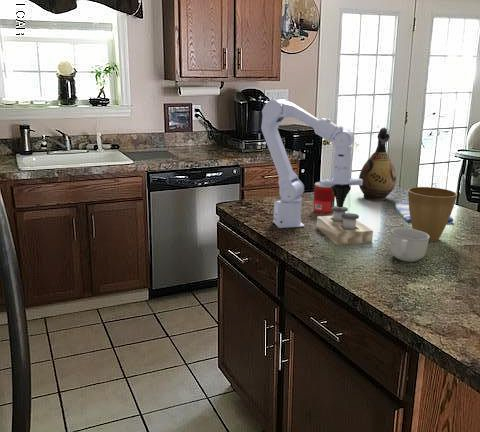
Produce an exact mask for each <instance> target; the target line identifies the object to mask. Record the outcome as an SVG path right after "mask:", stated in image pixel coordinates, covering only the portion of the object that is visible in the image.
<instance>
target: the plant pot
mask: <svg viewBox="0 0 480 432" xmlns="http://www.w3.org/2000/svg"><path fill="white" fill-rule="evenodd" d="M407 193H408V194H407V196H408V198H407V200H408V202H409V212H410V219H411V223H410V224H411V227H412V228H411V229H415V230H419V231H422V232H425V233H427V234H428V235H429V236H430V238H429V241H428V243H434V242H438V241H439V240H440V237H441V236H442V234H443V232H444V230H445V228H446V226H447V225H448V224H447V222H448V220H449V217H450V216H451V215H452V212H453V209H454V206H455V204H456V199H457V197H458V193H457V192H456V191H452V190H450V189H445V188H440V187H432V186H431V187H430V186H416V187H409V188H408V189H407Z"/></svg>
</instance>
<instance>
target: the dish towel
mask: <svg viewBox="0 0 480 432" xmlns="http://www.w3.org/2000/svg"><path fill="white" fill-rule="evenodd" d="M394 204H395V205H394V208H395V210H396V211H397V213H398V214H400V215H401V217H402V218H403V219H404V220H405V222H407V223H409V222H410V224H411V219H410V212H409V201H400V202H395V203H394ZM453 222H454V218H453V217H452V216H451V215H450V217H449V220H448V222H447V224H446V225H453Z"/></svg>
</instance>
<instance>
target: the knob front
mask: <svg viewBox="0 0 480 432" xmlns="http://www.w3.org/2000/svg"><path fill="white" fill-rule="evenodd" d="M341 217H342V218H344V219H343V229H344V230H352V229H355V228H356V220H358V219H359V218H360V216H359V214H357V213H353V212H345V213H344V214H341Z"/></svg>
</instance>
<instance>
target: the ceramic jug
mask: <svg viewBox="0 0 480 432" xmlns="http://www.w3.org/2000/svg"><path fill="white" fill-rule="evenodd" d="M377 139H378V141H377V147H376V149H375V151H374V152H372V154H371V155H370V157H369V158H368V159H367V161H366V162H365V163H364V164H363V166H362V168H361V170H360V171H359V175H358V179H362V180H363V183H362V185H358V186H359V189H360V191H361V193H362V194H363V199H364V200H368V201H374V202H375V201H378V202H379V201H380V202H381V201H385V200H386V199H387V197H388V196H389V195H390V193H392V192H393V191H394V189H395V187H396V184H397V174H396V171H395V167H394V165H393V163H392V160H391V158H390V156H389V154H388V152H387V149H386V143H388V142H389V139H390V134H389V133H388V128H386V127H381V128H380V129H379V132H378V133H377Z"/></svg>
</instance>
